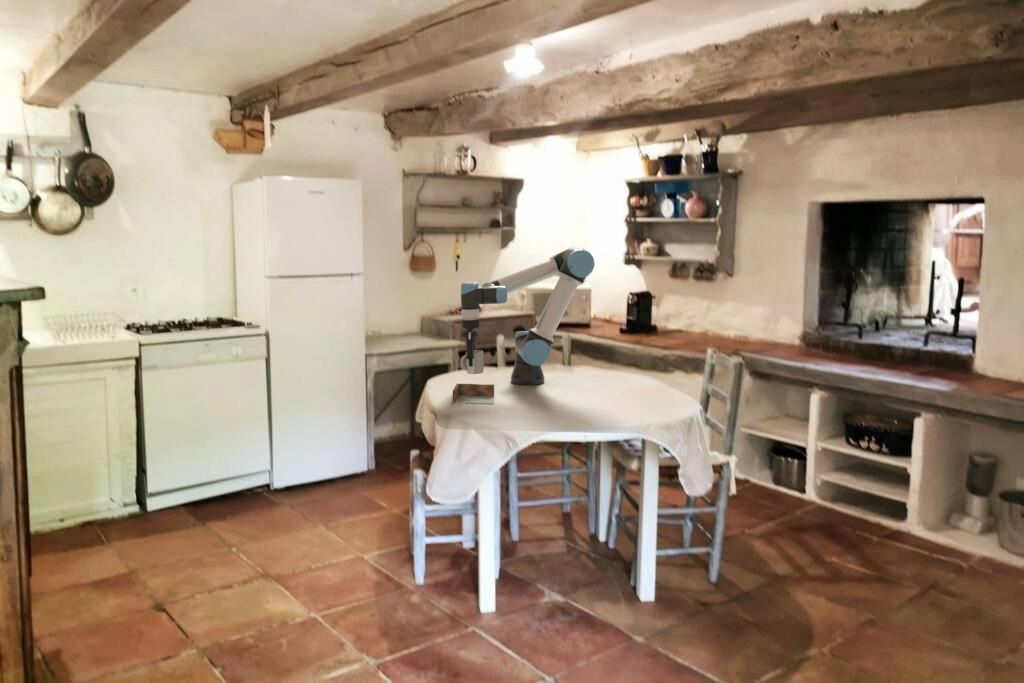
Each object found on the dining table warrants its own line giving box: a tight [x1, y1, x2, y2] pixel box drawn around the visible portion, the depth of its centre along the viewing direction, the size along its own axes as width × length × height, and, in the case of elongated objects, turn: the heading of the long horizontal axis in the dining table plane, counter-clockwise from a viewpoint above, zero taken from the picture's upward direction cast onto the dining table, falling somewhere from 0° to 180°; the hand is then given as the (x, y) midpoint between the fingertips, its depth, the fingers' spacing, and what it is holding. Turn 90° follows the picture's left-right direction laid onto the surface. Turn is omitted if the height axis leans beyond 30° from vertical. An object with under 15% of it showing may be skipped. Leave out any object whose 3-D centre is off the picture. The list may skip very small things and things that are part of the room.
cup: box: [460, 349, 484, 375], centre depth 338 cm, size 7×10×9 cm
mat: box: [465, 396, 496, 405], centre depth 321 cm, size 11×12×1 cm
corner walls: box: [452, 383, 495, 404], centre depth 322 cm, size 16×14×5 cm
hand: (472, 371), depth 340 cm, fingers closed on cup, 7 cm apart
